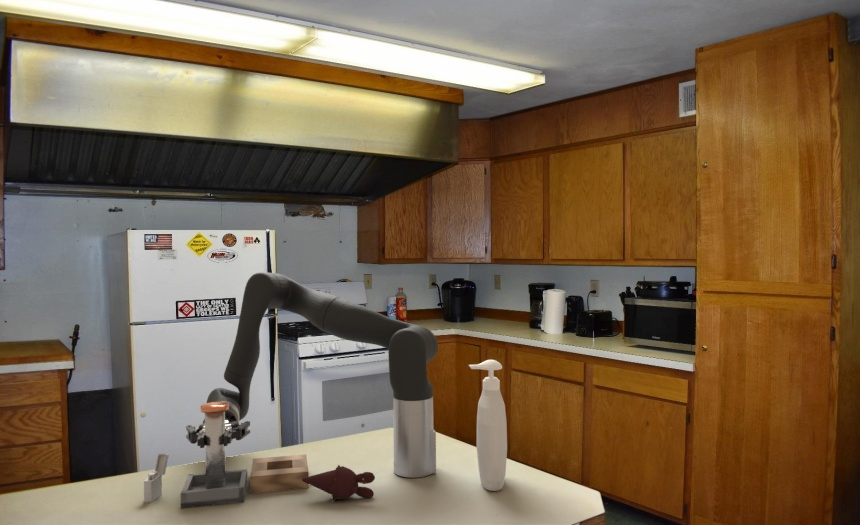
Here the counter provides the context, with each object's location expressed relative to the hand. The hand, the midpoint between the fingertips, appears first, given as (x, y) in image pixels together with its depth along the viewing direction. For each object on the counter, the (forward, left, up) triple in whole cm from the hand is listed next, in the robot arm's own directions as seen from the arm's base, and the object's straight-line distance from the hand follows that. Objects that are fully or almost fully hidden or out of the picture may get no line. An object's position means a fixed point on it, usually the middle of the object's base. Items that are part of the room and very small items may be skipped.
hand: (213, 442), depth 124 cm
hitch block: (-13, -8, -12) cm, 19 cm away
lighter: (+12, -6, -12) cm, 18 cm away
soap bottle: (-57, +6, -12) cm, 59 cm away
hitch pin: (0, -3, -10) cm, 10 cm away
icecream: (-25, +6, -12) cm, 28 cm away
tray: (0, -3, -12) cm, 12 cm away
